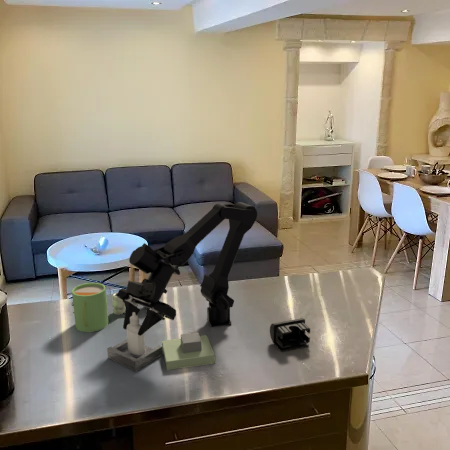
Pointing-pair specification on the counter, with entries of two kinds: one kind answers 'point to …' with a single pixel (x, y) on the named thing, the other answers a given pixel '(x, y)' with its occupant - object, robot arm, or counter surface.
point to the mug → (90, 307)
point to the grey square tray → (131, 360)
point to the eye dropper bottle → (135, 336)
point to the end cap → (290, 334)
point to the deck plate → (186, 358)
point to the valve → (118, 305)
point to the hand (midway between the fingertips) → (131, 332)
